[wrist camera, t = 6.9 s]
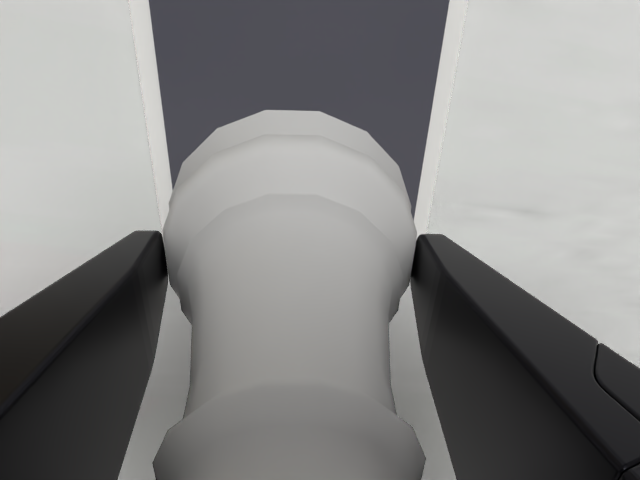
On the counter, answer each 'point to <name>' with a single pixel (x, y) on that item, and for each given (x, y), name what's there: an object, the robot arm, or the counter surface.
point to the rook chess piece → (289, 303)
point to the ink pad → (300, 75)
